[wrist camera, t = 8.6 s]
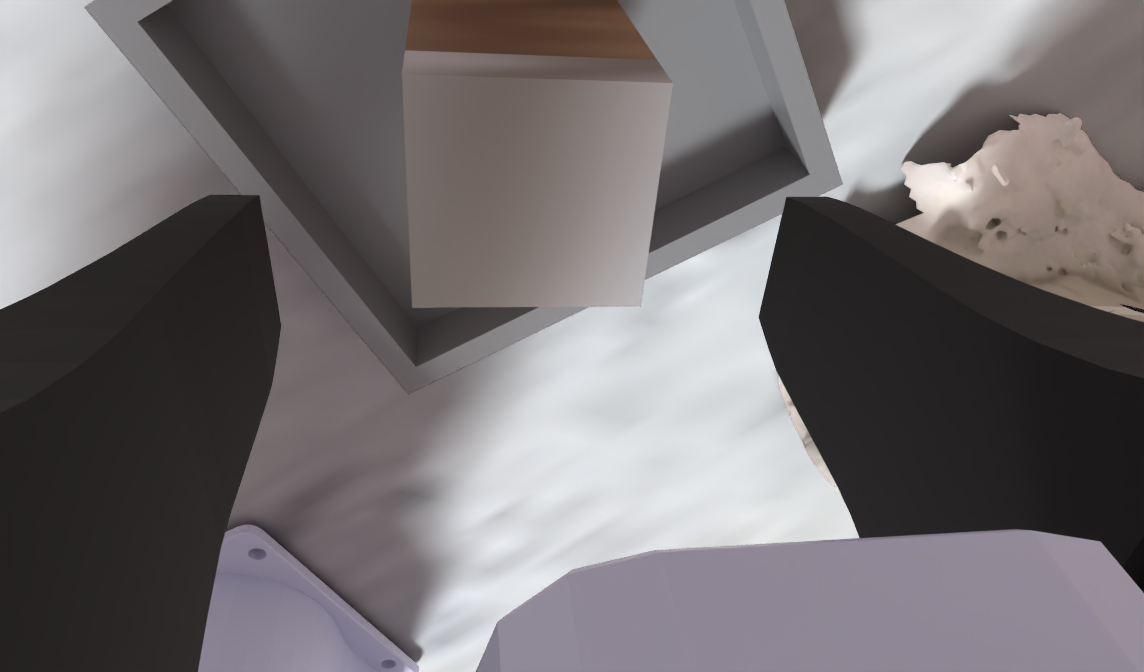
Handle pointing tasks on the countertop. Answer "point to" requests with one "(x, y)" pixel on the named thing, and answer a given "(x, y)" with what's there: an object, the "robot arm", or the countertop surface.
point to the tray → (377, 143)
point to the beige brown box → (530, 153)
